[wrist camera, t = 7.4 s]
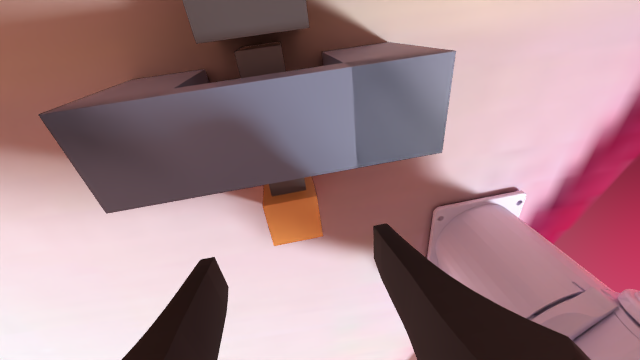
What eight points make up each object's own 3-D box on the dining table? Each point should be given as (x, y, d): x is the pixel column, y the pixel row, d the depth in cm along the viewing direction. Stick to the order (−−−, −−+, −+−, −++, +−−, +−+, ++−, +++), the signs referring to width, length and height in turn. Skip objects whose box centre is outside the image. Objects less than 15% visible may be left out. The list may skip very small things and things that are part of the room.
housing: (386, 111, 17) (441, 152, 11) (163, 149, 16) (106, 213, 10) (387, 42, 15) (456, 50, 9) (131, 79, 14) (38, 114, 8)
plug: (323, 197, 19) (334, 234, 16) (264, 208, 19) (262, 248, 16) (282, -101, 11) (287, -155, 8) (178, -90, 11) (136, -142, 8)
